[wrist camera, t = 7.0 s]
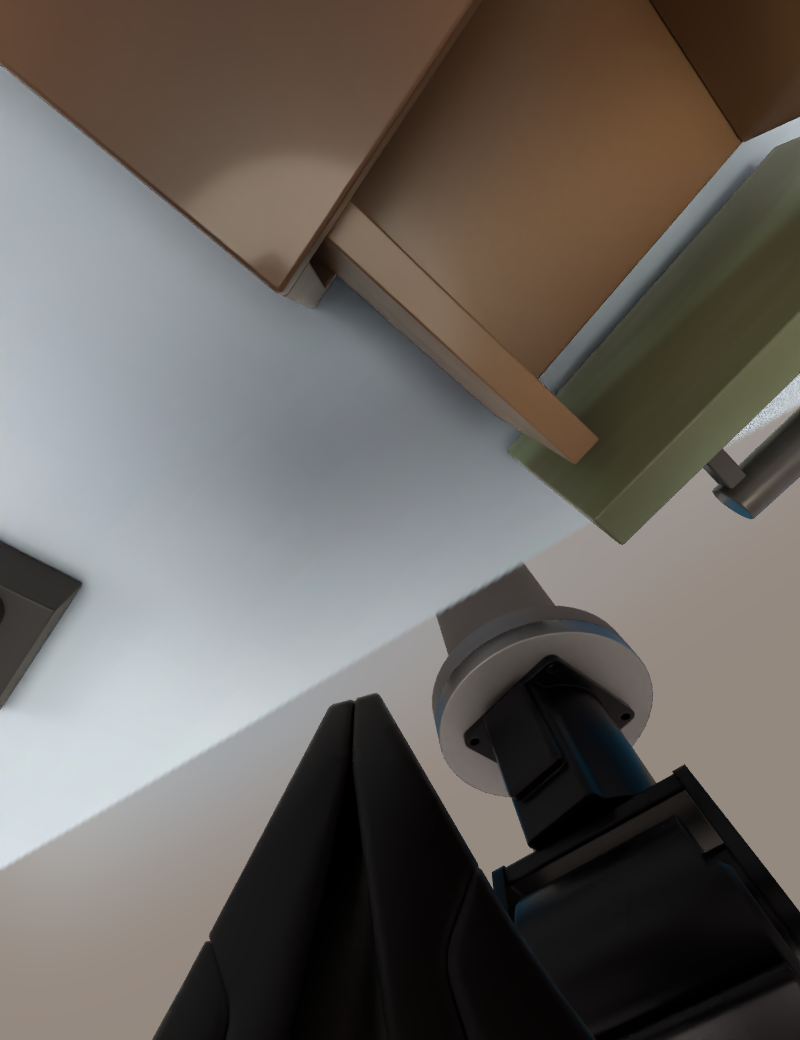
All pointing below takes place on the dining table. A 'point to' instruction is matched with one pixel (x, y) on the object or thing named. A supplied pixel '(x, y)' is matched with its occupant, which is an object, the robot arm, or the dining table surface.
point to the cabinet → (238, 105)
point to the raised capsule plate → (27, 612)
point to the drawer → (599, 240)
